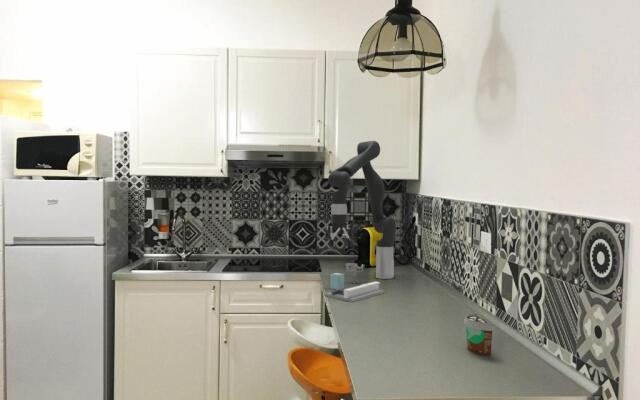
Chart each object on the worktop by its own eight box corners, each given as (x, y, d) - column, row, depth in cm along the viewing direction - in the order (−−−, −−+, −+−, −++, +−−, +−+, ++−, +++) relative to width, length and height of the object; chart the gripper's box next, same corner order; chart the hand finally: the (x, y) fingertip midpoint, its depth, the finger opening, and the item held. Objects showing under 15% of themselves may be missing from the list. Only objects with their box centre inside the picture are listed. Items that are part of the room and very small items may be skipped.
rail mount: (356, 287, 230) (357, 278, 229) (384, 292, 219) (384, 282, 219) (324, 296, 212) (324, 285, 211) (352, 302, 201) (352, 291, 201)
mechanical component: (363, 284, 237) (364, 264, 237) (344, 283, 239) (344, 263, 239) (364, 283, 240) (364, 263, 239) (344, 282, 242) (345, 263, 242)
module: (336, 286, 231) (337, 272, 231) (343, 288, 228) (344, 273, 228) (330, 288, 227) (330, 273, 227) (337, 290, 224) (337, 274, 224)
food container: (457, 343, 150) (457, 312, 150) (475, 343, 150) (476, 312, 150) (472, 357, 138) (473, 324, 137) (493, 357, 138) (493, 324, 138)
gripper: (346, 212, 231) (346, 244, 231) (322, 213, 223) (322, 247, 224) (355, 213, 224) (355, 246, 225) (331, 214, 217) (331, 248, 217)
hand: (338, 246), depth 224 cm, fingers open, 8 cm apart
